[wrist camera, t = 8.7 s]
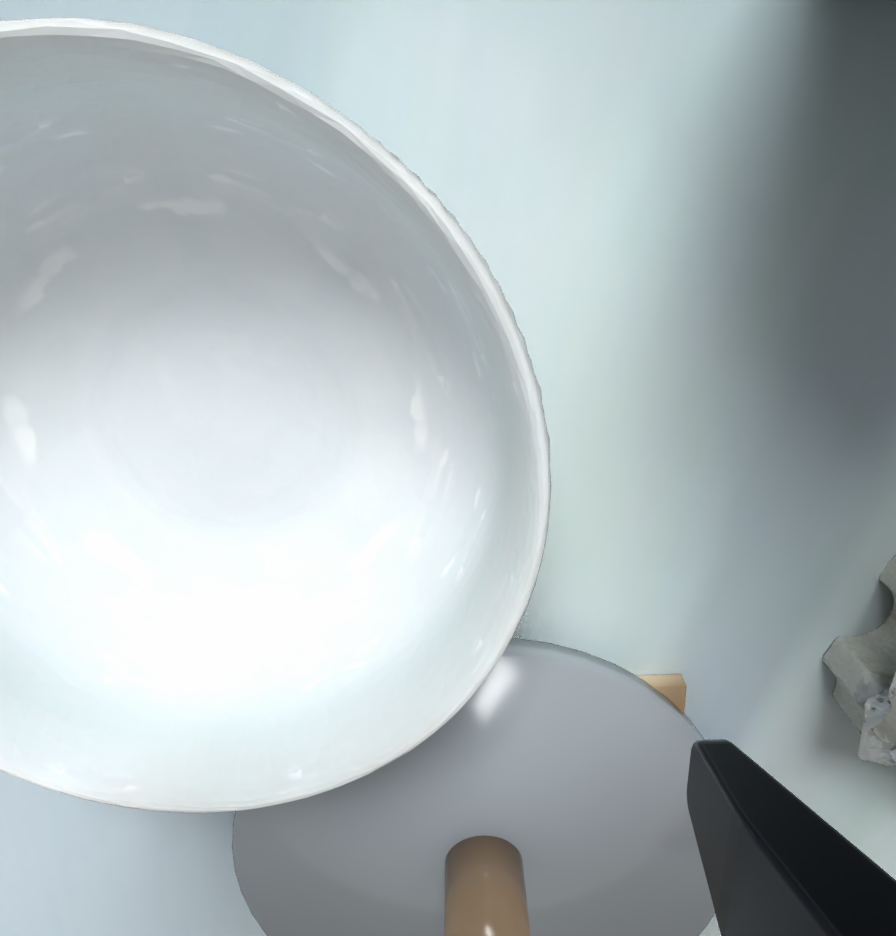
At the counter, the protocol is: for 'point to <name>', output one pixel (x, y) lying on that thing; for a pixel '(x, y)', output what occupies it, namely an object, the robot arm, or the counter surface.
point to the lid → (499, 820)
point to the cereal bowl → (240, 433)
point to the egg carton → (869, 682)
